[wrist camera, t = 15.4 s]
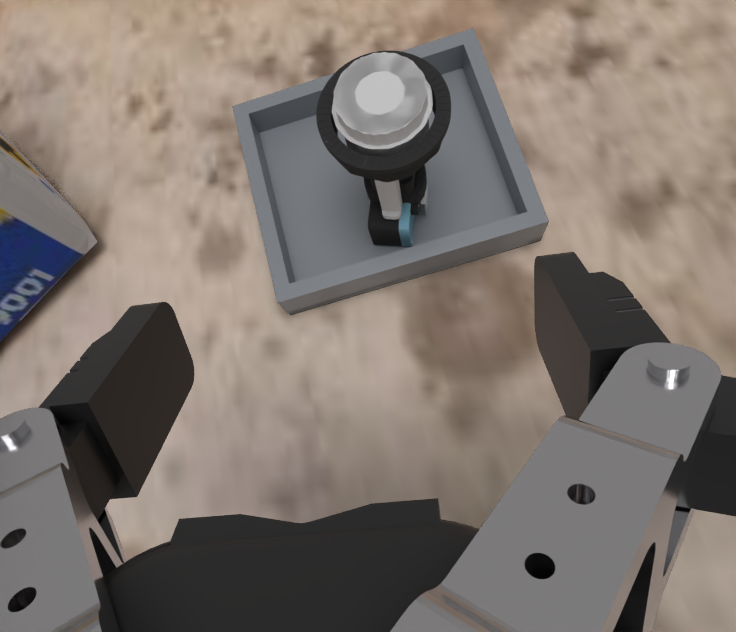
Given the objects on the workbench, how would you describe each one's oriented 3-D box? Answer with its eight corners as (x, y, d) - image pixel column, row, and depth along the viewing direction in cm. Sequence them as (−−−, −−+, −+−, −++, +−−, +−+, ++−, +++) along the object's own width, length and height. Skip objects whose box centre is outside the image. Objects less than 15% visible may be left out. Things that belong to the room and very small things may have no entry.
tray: (471, 59, 33) (473, 28, 30) (540, 240, 30) (548, 221, 27) (247, 131, 34) (232, 106, 31) (290, 314, 30) (277, 302, 28)
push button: (361, 141, 32) (324, 4, 22) (455, 143, 31) (459, 2, 21) (346, 250, 30) (301, 154, 21) (445, 256, 29) (445, 159, 20)
